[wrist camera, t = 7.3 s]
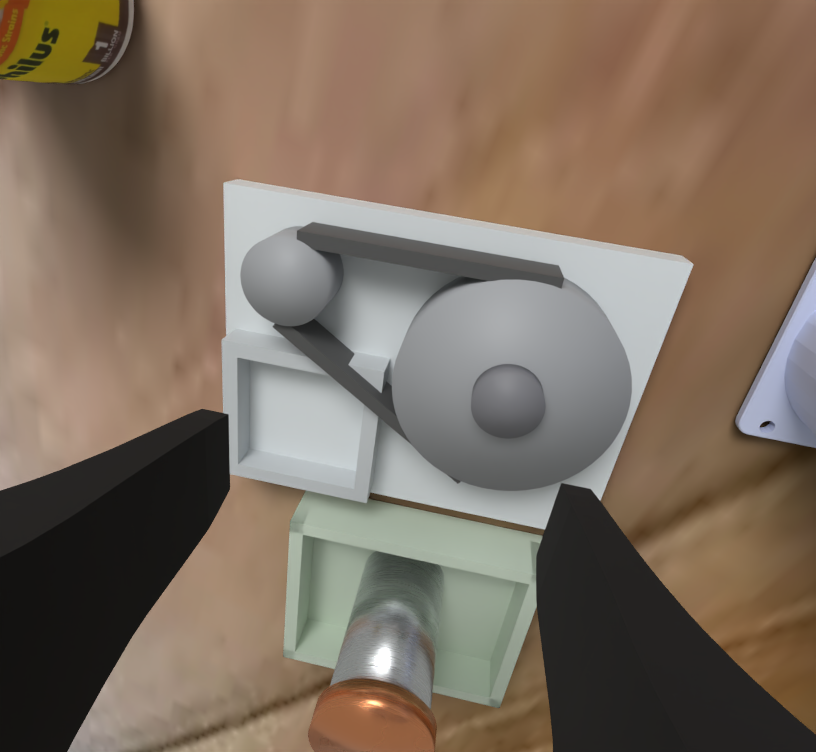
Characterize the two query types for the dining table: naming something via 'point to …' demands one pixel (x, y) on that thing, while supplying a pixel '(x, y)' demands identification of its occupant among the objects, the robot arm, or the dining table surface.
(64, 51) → the supplement bottle
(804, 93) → the dining table surface
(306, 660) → the tray
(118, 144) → the dining table surface
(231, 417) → the pulley board
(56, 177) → the dining table surface
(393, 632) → the pin
